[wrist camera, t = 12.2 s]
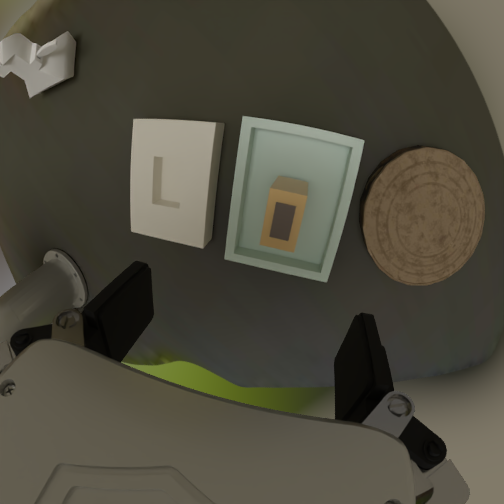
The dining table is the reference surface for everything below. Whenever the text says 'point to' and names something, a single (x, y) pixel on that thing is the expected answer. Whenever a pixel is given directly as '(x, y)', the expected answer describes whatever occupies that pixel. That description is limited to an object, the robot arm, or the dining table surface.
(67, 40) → the white faceted figurine
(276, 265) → the tray
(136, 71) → the dining table surface
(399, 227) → the wood slice coaster
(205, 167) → the block
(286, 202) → the tan rectangular block
